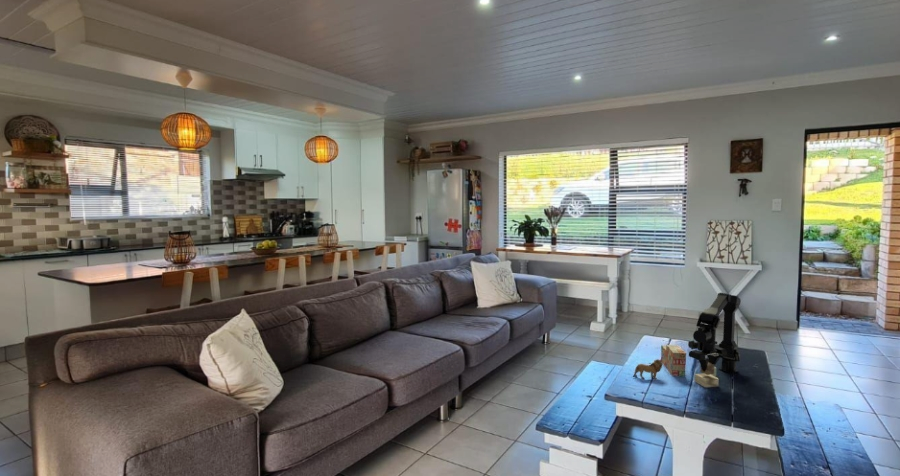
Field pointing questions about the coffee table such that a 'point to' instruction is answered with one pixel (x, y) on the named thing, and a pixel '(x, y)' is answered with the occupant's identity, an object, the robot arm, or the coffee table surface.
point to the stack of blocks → (674, 359)
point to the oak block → (706, 380)
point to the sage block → (714, 372)
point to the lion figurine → (649, 368)
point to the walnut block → (708, 369)
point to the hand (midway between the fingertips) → (707, 370)
